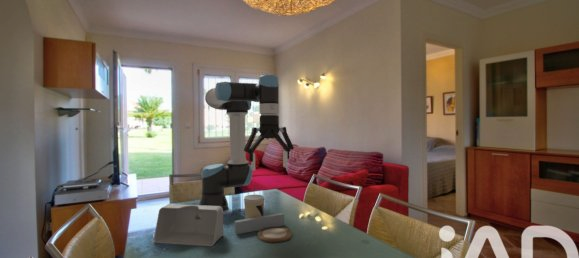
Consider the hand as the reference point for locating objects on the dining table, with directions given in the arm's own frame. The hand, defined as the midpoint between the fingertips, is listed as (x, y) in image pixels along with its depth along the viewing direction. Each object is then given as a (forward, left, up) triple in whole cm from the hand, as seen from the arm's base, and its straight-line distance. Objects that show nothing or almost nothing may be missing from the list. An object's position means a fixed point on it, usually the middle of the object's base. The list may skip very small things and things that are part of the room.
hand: (269, 168), depth 109 cm
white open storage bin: (-17, -27, -28) cm, 43 cm away
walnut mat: (-2, +3, -28) cm, 28 cm away
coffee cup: (-19, 0, -28) cm, 34 cm away
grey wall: (-11, 0, -28) cm, 30 cm away
